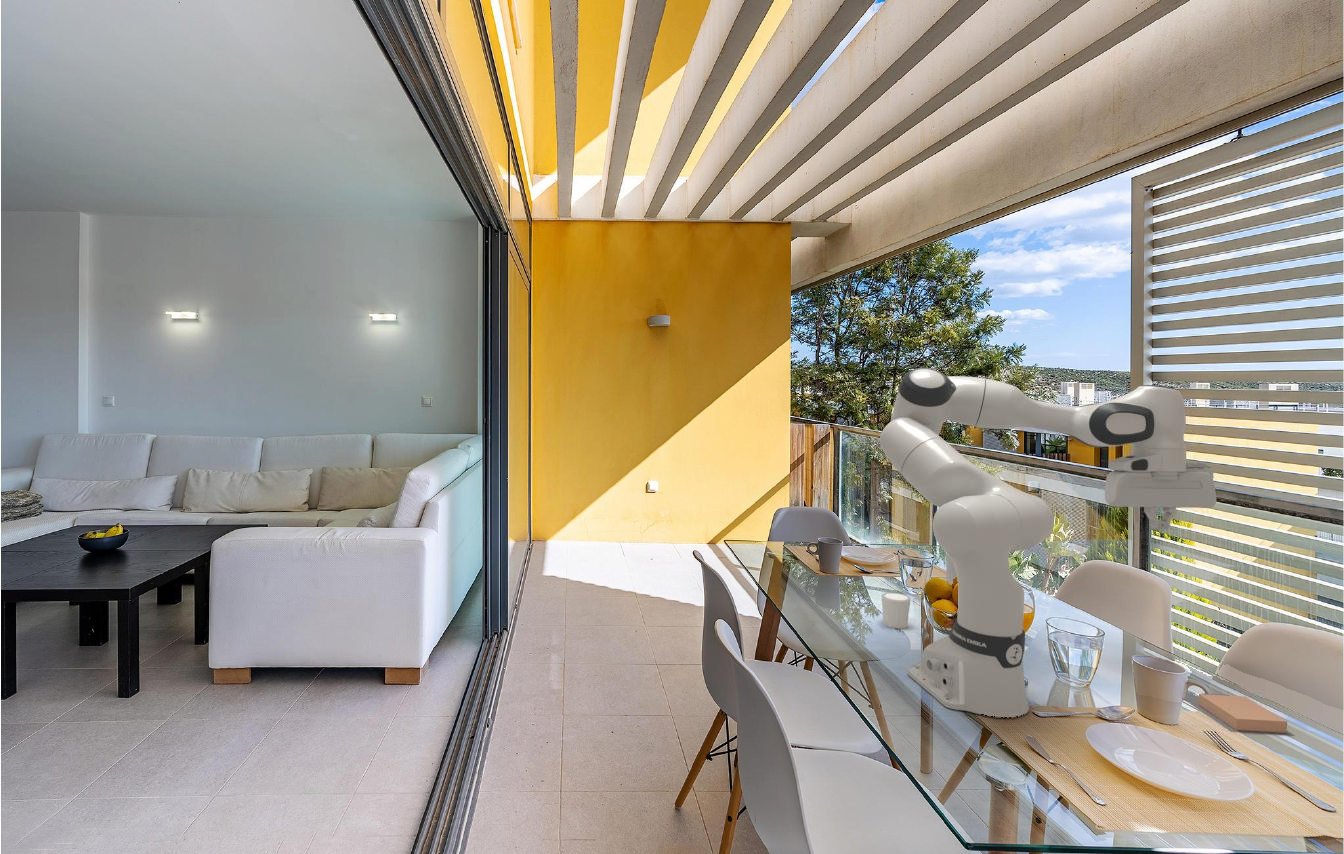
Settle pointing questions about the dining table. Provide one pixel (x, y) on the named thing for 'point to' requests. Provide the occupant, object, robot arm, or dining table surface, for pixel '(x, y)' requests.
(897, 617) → the white cylinder
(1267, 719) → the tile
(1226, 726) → the mat
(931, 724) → the dining table surface
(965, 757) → the dining table surface
